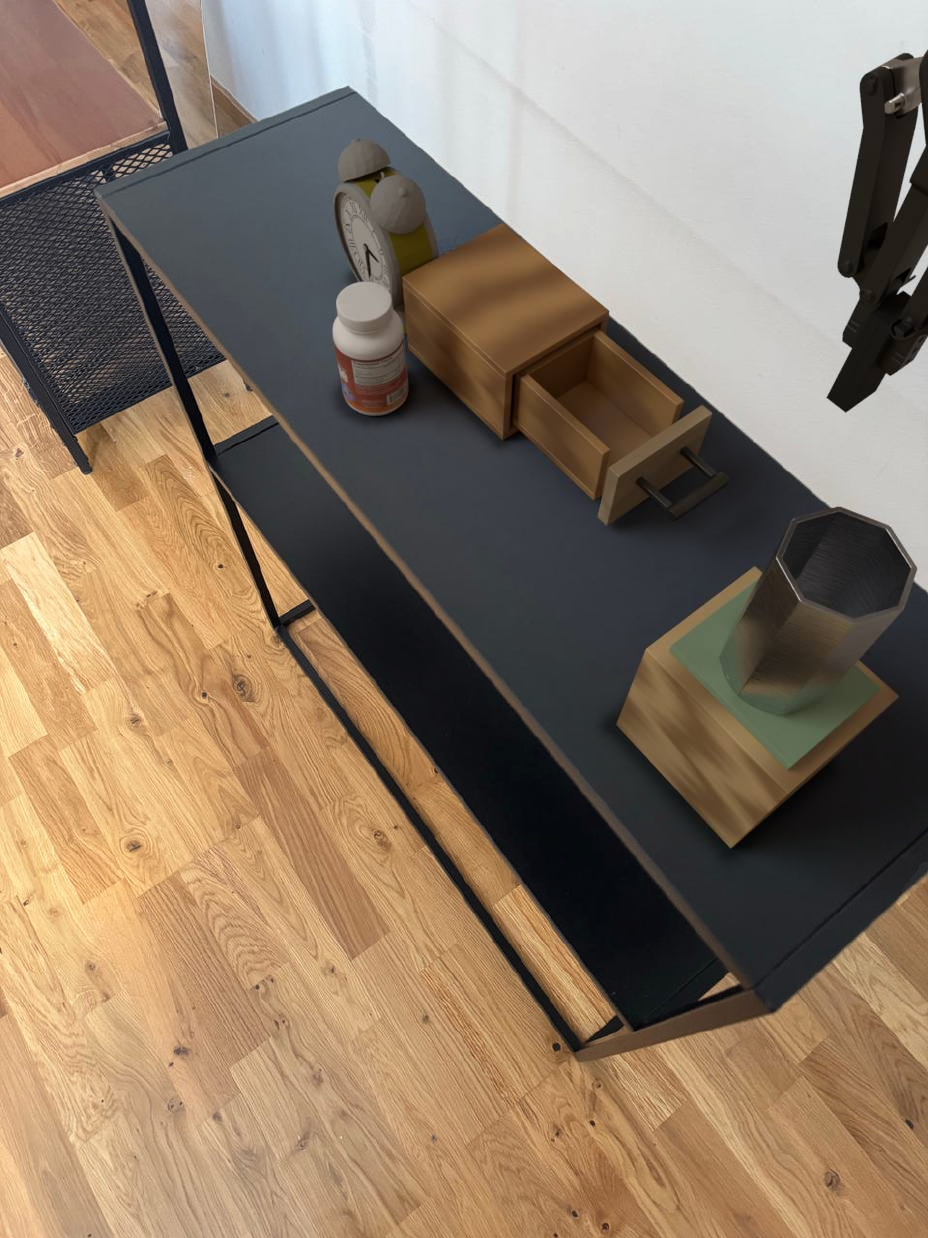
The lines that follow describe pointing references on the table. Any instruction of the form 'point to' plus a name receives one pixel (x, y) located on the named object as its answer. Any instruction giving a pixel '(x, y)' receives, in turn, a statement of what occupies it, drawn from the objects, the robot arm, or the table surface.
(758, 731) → the mat
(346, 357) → the pill bottle
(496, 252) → the cabinet
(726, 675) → the metal cup
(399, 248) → the alarm clock
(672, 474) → the drawer
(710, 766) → the stand
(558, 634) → the table surface
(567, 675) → the table surface
